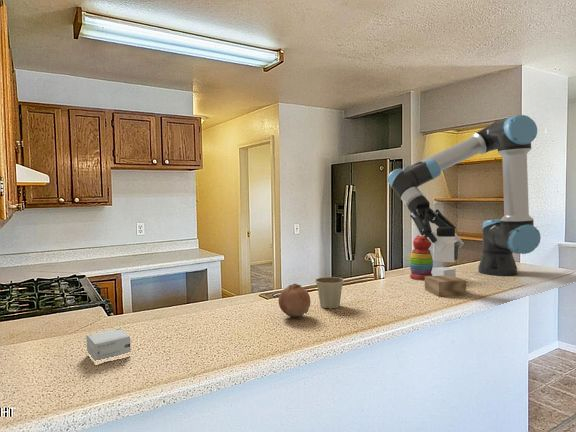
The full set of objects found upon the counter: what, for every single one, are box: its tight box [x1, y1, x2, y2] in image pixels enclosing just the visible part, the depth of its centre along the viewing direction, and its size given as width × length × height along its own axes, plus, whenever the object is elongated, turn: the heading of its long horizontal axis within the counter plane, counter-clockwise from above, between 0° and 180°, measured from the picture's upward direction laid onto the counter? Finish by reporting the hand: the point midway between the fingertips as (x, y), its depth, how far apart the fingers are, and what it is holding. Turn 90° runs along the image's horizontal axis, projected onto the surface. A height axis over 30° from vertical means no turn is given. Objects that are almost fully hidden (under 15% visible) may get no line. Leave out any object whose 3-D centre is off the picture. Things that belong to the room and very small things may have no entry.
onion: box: [278, 283, 311, 318], centre depth 119 cm, size 10×9×10 cm
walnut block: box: [424, 275, 467, 298], centre depth 145 cm, size 10×10×5 cm
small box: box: [85, 327, 132, 361], centre depth 94 cm, size 8×8×5 cm
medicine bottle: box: [432, 226, 459, 264], centre depth 143 cm, size 7×7×12 cm
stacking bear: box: [408, 234, 434, 281], centre depth 170 cm, size 11×10×18 cm
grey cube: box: [431, 266, 457, 277], centre depth 158 cm, size 6×6×6 cm
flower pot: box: [314, 276, 345, 310], centre depth 130 cm, size 9×9×9 cm
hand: (452, 247), depth 141 cm, fingers closed on medicine bottle, 9 cm apart
